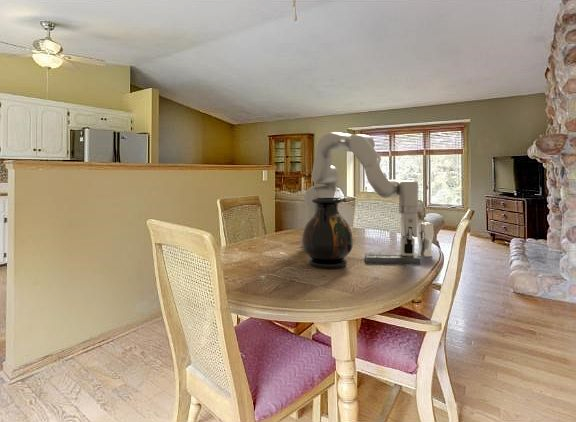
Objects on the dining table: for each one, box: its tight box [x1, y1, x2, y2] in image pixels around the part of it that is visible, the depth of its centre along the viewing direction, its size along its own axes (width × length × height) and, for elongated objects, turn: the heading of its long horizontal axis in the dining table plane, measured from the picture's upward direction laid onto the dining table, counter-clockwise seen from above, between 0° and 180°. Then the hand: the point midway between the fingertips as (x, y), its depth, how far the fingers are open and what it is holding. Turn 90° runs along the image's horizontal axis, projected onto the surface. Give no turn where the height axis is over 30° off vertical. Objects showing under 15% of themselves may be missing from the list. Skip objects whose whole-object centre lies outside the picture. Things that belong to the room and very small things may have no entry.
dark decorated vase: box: [301, 197, 354, 270], centre depth 148 cm, size 22×22×28 cm
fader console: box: [364, 252, 422, 265], centre depth 153 cm, size 22×9×3 cm, turn 82°
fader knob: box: [399, 237, 415, 256], centre depth 151 cm, size 5×4×7 cm
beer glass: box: [416, 221, 435, 258], centre depth 161 cm, size 7×7×15 cm
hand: (407, 251), depth 152 cm, fingers closed on fader knob, 4 cm apart
